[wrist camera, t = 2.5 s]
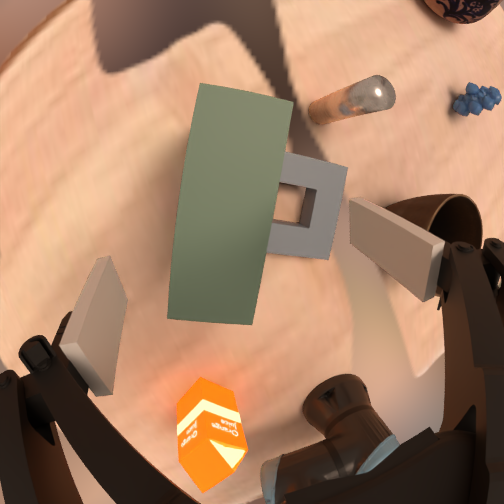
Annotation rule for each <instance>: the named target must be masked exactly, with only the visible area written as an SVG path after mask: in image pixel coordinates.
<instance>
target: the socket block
mask: <svg viewBox="0 0 504 504" xmlns="http://www.w3.org/2000/svg"><path fill="white" fill-rule="evenodd" d="M347 169H348V167H345V166H341V165H337V164H334V163H330V162H326V161H322V160H318V159H314V158H310V157H306V156H302V155H298V154H294V153H289V152H285V155H284V160H283V166H282V171H281V177H280V182H281V183H286V184H292V185H297V186H301V187H306V192H305V197H304V202H303V207H302V213H301V218H300V223H295V222H288V221H282V220H275V219H273V220H272V225H271V231H270V236H269V241H268V247H267V252H266V253H273V254H282V255H290V256H299V257H308V258H316V259H325V260H329V256H330V251H331V247H332V243H333V238H334V234H335V229H336V225H337V220H338V215H339V211H340V206H341V201H342V196H343V191H344V185H345V180H346V175H347Z"/></svg>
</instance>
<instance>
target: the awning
mask: <svg viewBox="0 0 504 504" xmlns="http://www.w3.org/2000/svg"><path fill="white" fill-rule="evenodd" d="M292 108H293V102H291V101H287V100H283V99H279V98H275V97H271V96H267V95H262V94H258V93H253V92H248V91H244V90H239V89H233V88H228V87H222V86H216V85H210V84H203V83H200V85H199V90H198V94H197V99H196V104H195V108H194V113H193V118H192V123H191V129H190V134H189V139H188V145H187V150H186V156H185V162H184V168H183V175H182V181H181V188H180V195H179V202H178V209H177V217H176V225H175V234H174V243H173V252H172V262H171V273H170V285H169V298H168V314H167V319H176V320H187V321H198V322H211V323H225V324H242V325H252V323H253V318H254V313H255V308H256V303H257V298H258V293H259V288H260V283H261V278H262V272H263V267H264V262H265V257H266V252H267V247H268V241H269V236H270V231H271V225H272V220H273V215H274V209H275V204H276V199H277V193H278V188H279V182H280V177H281V171H282V166H283V160H284V155H285V149H286V143H287V138H288V132H289V126H290V120H291V115H292Z"/></svg>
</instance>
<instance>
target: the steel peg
mask: <svg viewBox="0 0 504 504" xmlns="http://www.w3.org/2000/svg"><path fill="white" fill-rule="evenodd" d="M395 100H396V95H395V90H394V88H393V86H392V84H391V83H390V82H389V81H388V80H387V79H386V78H384V77H383V76H380V75H374V76H372V77H369V78H367V79H364V80H362V81H359V82H357V83H354V84H352V85H350V86H347V87H345V88H343V89H340V90H338V91H336V92H333V93H331V94H329V95H327V96H325V97H322V98H320V99H318V100H316V101H314V102H312V103H311V104H310V106H309V115H310V118H311V119H312V120H313V121H314V122H315V123H317V124H321V125H323V124H327V123H331V122H335V121H339V120H343V119H347V118H351V117H355V116H360V115H364V114H368V113H373V112H377V111H382V110H387V109H390V108H391V107H392V106H393V105H394V103H395Z"/></svg>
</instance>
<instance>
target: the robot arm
mask: <svg viewBox="0 0 504 504" xmlns="http://www.w3.org/2000/svg"><path fill="white" fill-rule="evenodd" d="M349 212H350V244H352V245H353V246H354V247H356V248H357V249H358V250H360V251H361V252H362V253H363V254H365V255H366V256H367V257H368V258H370V259H371V260H372V261H373V262H375V263H376V264H377V265H378V266H380V267H381V268H382V269H383V270H385V271H386V272H387V273H388V274H390V275H391V276H392V277H393V278H395V279H396V280H397V281H398V282H399V283H401V284H402V285H403V286H404V287H405V288H407V289H408V290H409V291H410V292H411V293H412V294H414V295H415V296H416V297H417V298H418V299H420V300H421V301H422V302H425V301H427V300H429V299H431V298H433V297H434V296H435V292H436V287H437V285H438V286H439V287H440V288H442V292H441V296H440V300H439V304H438V308H437V310H439V309H440V307H441V306H442V315H443V328H444V346H445V398H444V416H443V422H442V425H441V428H440V430H439V432H437V433H434V432H433V431H432V429H431V428H430V427H428V428H427V429H425V430H424V431H422V432H421V433H419V434H418V435H416V436H414V437H413V438H411V439H409V440H408V441H406V442H404V443H403V444H401V445H400V444H399V442H398V441H397V439H396V437H395V435H394V434H393V433H392V432H391V431H390V430H389V428H388V427H387V426H386V424H385V423H384V422H383V420H382V419H381V418H380V417H379V416H378V414H377V413H376V412H375V410H374V409H373V408H372V406H371V402H370V399H369V395H368V392H367V388H366V385H365V384H364V383H363V381H362V380H361V379H360V378H359V377H357V376H356V375H352V374H344V375H339V376H336V377H333V378H331V379H328V380H327V381H325V382H323V383H322V384H320V385H319V386H317V387H316V388H315V389H314V390H313V391H312V392H311V393H310V394H309V395H308V397H307V398H306V400H305V402H304V405H303V413H304V415H305V417H306V419H307V421H308V422H309V424H311V425H312V426H314V427H315V428H316V429H317V430H318V431H319V432H321V433H322V434H323V435H324V436H325V438H326V439H325V440H323V441H320V442H318V443H315V444H312V445H310V446H307V447H304V448H302V449H299V450H296V451H293V452H290V453H287V454H282V455H280V456H279V457H276V458H273V459H271V460H268V461H266V462H264V463H263V465H262V466H261V470H260V479H261V487H262V492H263V496H264V498H265V502H266V504H504V242H502V241H500V240H499V239H496V238H487V239H485V241H484V246H483V249H478V250H476V248H475V247H474V246H473V245H471V244H468V243H466V242H453V243H452V244H450V243H448V242H446V241H445V240H443V239H441V238H439V237H438V236H436V235H434V234H432V233H431V232H428V231H427V230H425V229H423V228H422V227H419V226H417V225H415V224H413V223H411V222H409V221H407V220H405V219H404V218H402V217H400V216H398V215H396V214H394V213H392V212H390V211H388V210H386V209H384V208H382V207H380V206H378V205H376V204H374V203H372V202H370V201H368V200H366V199H364V198H362V197H357V198H352V199H349ZM500 276H501V287H500V288H499V287H498V282H499V278H500ZM127 302H128V298H127V296H126V294H125V291H124V289H123V286H122V284H121V282H120V279H119V277H118V274H117V272H116V269H115V266H114V264H113V261H112V259H111V256H106V257H102V258H99V259H97V261H96V263H95V265H94V267H93V269H92V271H91V273H90V275H89V277H88V279H87V281H86V283H85V285H84V287H83V290H82V292H81V294H80V296H79V298H78V301H77V303H76V305H75V307H74V310H73V311H71V312H68V314H67V315H66V316H65V317H64V318H63V319H62V321H61V324H60V326H59V329H58V331H57V333H56V335H55V338H54V340H53V343H52V345H50V344H49V342H48V341H47V339H46V337H44V336H43V335H37V336H33V337H32V338H30V339H28V340H27V341H26V342H25V343H24V344H23V345H22V346H21V348H20V350H19V353H18V354H19V358H20V359H21V361H22V362H23V364H24V365H25V366H26V368H27V369H28V370H29V372H30V374H28V375H26V376H23V377H21V378H20V377H19V376H18V375H17V374H16V372H15V371H13V370H7V371H4V372H3V373H1V374H0V481H1V486H2V491H3V496H4V500H5V504H83V502H82V499H81V497H80V495H79V492H78V490H77V488H76V485H75V483H74V480H73V478H72V475H71V472H70V469H69V467H68V464H67V461H66V458H65V455H64V452H63V449H62V446H61V442H60V439H59V436H58V432H57V428H56V425H55V421H56V422H57V424H58V426H59V427H60V429H61V430H62V432H63V434H64V435H65V437H66V438H67V440H68V441H69V443H70V444H71V446H72V448H73V449H74V450H75V452H76V453H77V455H78V456H79V458H80V459H81V460H82V462H83V463H84V465H85V466H86V467H87V468H88V470H89V471H90V472H91V474H92V475H93V476H94V478H95V479H96V480H97V481H98V483H99V484H100V485H101V486H102V488H103V489H104V490H105V491H106V492H107V493H108V494H109V496H110V497H111V498H112V499H113V500H114V501H115V503H116V504H201V503H199V502H198V501H196V500H195V499H194V498H192V497H191V496H190V495H188V494H187V493H186V492H184V491H183V490H182V489H181V488H179V487H178V486H177V485H176V484H174V483H173V482H172V481H171V480H169V479H168V478H167V477H166V476H165V475H164V474H162V473H161V472H160V471H159V470H158V469H157V468H155V467H154V466H153V465H152V464H151V463H150V462H149V461H148V460H147V459H146V458H145V457H143V456H142V455H141V454H140V453H139V452H138V451H137V450H136V449H135V448H134V447H133V446H132V445H131V444H130V443H129V442H128V441H127V440H126V439H125V438H124V437H123V436H122V435H121V434H120V433H119V432H118V430H117V429H116V428H115V427H114V426H113V425H112V424H111V423H110V422H109V421H108V419H107V418H106V417H105V416H104V415H103V414H102V413H101V411H100V410H99V409H98V408H97V407H96V406H95V404H94V403H93V402H92V401H91V399H90V398H89V397H88V396H87V394H88V388H90V390H91V391H92V392H93V393H94V395H95V396H96V397H97V396H106V395H113V387H114V379H115V372H116V365H117V358H118V351H119V345H120V339H121V333H122V328H123V322H124V317H125V312H126V307H127Z"/></svg>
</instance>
